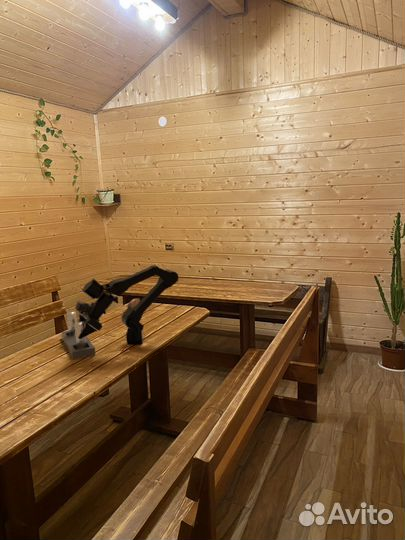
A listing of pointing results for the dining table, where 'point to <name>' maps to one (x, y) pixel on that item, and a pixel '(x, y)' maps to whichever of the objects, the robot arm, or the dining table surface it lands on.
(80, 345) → the cylinder
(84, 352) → the twin nest fixture
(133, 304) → the tin
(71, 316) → the billet
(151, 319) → the dining table surface
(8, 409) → the dining table surface
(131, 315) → the robot arm
